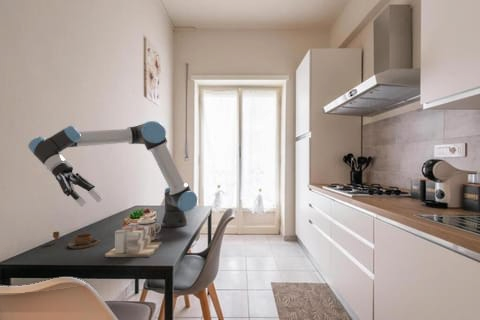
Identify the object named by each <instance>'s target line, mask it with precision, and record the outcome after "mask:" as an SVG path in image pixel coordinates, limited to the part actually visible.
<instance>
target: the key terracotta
mask: <svg viewBox="0 0 480 320" xmlns="http://www.w3.org/2000/svg"><path fill="white" fill-rule="evenodd" d="M120 230H127V234H129V233H131V232H132V231H133V226H128V225H127V226H125V225H124V226H123V227H121V228H120Z"/></svg>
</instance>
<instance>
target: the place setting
mask: <svg viewBox="0 0 480 320" xmlns="http://www.w3.org/2000/svg"><path fill="white" fill-rule="evenodd" d="M59 237H60V231H53V232H52V238H54V245H56V244H58V238H59ZM98 242H100V243H103V241H101V239H98V238H93V234H91V233H82V234H81V233H80V234H77V235H75V236H74V241H70V242H69V243H68V244H67V247H68V248H69V249H75V250H76V249H77V250H78V249H87V248H91V247H94V246H97V244H98ZM90 243H91V244H90Z"/></svg>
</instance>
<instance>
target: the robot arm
mask: <svg viewBox="0 0 480 320" xmlns="http://www.w3.org/2000/svg"><path fill="white" fill-rule="evenodd" d="M166 131H167V130H166V129H165V126H164V125H163V124H162V123H160V122H159V121H157V120H156V121H155V120H152V121H150V120H149V121H146V122H144V123H141V124H139V125H134V126H127V128H120V129H119V128H118V129H101V130H100V129H99V130H87V131H86V130H85V131H78V129H77V128H75V126H74V125H69V126H66V127H64V128H63V129H61V130H60V131H58V132H56V133H55V134H53V135H52V136H50V137H48V138H45V137H44V136H38V137H36V138H35V137H34V138H33V139H31V140H30V142H28V145H27V146H28V149H29V150H30V151H31V153H33V155H34V156H35V157H36V158H37V159H38V160H39V161H40V162H41V163H42V165H44V166H45V167H46V170H47V171H49V172H50V173H51V174H52V175H53V176H54V178H55V179H56V181H57V182H58V184H59V186H60V188H61V190H62V192H63V194H64V195H66V196H67V197H69V196H70V197H71V198H72V199H73V200H74V201H75V202H76V203H77V204H78V205H79V207H81V208H82V207H84V206H85V205H86V204H87V202H88V201H87V200H86V199H85V198H84V197H83V196H82V195H81V194H80V192H78V191H77V190H75V187H74V186H78V187H80V188H81V189H84V190H85V191H86V192H87V193H88V194H89V195H90V197H92V198H93V200H95V201H96V202H97V203H100V202H101V201H102V200H103V199H104V198H103V197H102V196H101V195H100V194H99V192H98V191H96V190H95V187H96V186H95V185H94V184H93V183H91V182H90V181H88V180H87V179H86V178H85V177H83V176H82V175H81V174H80V173H78V172H76V173H74V172H73V170H74V167H73V166H72V165H71V164H70V163H69V162H68V161H67V159H66V158H64V157H63V156H62V154H61V152H62V151H64V150H65V149H67V148H76V147H77V148H78V147H88V146H89V147H90V146H100V145H101V146H102V145H103V146H104V145H115V144H125V143H127V144H129V145H144V146H145V148H146V150H147V152H148V151H149V152H151V154H152V156H153V157H154V160H155V161H156V165H157V166H158V168H159V170H160V172H161V174H162V176H163V177H164V180H165V182H166V184H167V186H168V187H166V188H165V189H164V214H163V217H162V219H161V227H164V228H179V227H180V228H181V227H185V226H187V225H188V219H187V216H186V214H185V212H190V211H192V210H194V209H195V207H196V206H197V202H198V196H197V194H196V193H195V191H192V190H191V188H190V186H189V184H188V183H185V181H184V179H183V177H182V176H181V173H180V171H179V169H178V166H177V165H176V163H175V161H174V159H173V156H172V154H171V153H170V150H169V149H168V145H167V144H168V139H167V137H166V135H167V132H166Z"/></svg>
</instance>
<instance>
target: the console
mask: <svg viewBox="0 0 480 320" xmlns="http://www.w3.org/2000/svg"><path fill="white" fill-rule="evenodd" d="M161 246H162V241H159V242H158V241H157V242H154V241H153V242H152V241H151V225H142V226H140V227H139V228H137V229H135V230H134V231H132V232H131V233H129V234H127V251H126V252H124V253H115V247H114V248H112V249H111V250H109V251H108V252H106V253H105V254H104V255H105V257H106V258H109V257H111V258H122V257H123V258H133V257H134V258H137V257H138V258H139V257H140V258H144V257H145V258H149V257H151V256H152V255H153V254H154V253H155V252H156V251H157V250H158V249H159V248H160V247H161Z"/></svg>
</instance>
